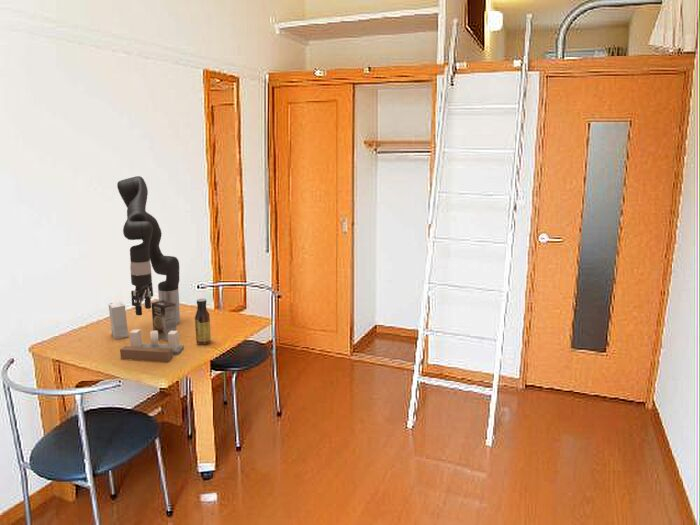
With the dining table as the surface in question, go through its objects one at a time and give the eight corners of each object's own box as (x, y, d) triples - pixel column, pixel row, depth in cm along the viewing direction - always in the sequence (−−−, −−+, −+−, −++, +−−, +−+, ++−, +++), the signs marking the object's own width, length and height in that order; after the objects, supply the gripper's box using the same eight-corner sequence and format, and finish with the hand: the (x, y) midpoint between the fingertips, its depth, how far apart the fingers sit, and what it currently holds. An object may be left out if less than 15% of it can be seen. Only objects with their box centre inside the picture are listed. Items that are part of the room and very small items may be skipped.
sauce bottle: (197, 340, 238) (195, 297, 234) (211, 340, 239) (210, 297, 235) (194, 345, 232) (192, 301, 228) (209, 345, 232) (207, 301, 228)
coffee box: (152, 337, 241) (150, 302, 237) (164, 333, 246) (162, 299, 243) (165, 341, 236) (163, 306, 232) (177, 337, 241) (175, 303, 238)
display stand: (133, 346, 229) (132, 327, 227) (183, 348, 228) (183, 329, 226) (125, 352, 222) (124, 333, 221) (178, 354, 221) (177, 335, 220)
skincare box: (128, 337, 240) (126, 305, 237) (114, 339, 237) (111, 307, 234) (124, 331, 247) (122, 300, 244) (110, 334, 244) (108, 302, 241)
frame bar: (126, 356, 220) (125, 345, 219) (172, 359, 218) (172, 348, 217) (120, 359, 216) (120, 349, 215) (168, 362, 214) (167, 352, 213)
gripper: (139, 267, 216) (142, 306, 220) (123, 276, 203) (126, 317, 206) (157, 268, 216) (160, 306, 220) (142, 276, 202) (145, 317, 206)
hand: (143, 311), depth 213 cm, fingers open, 8 cm apart
